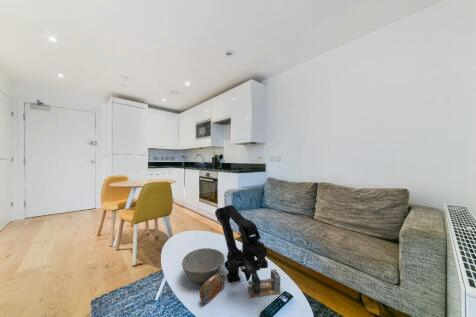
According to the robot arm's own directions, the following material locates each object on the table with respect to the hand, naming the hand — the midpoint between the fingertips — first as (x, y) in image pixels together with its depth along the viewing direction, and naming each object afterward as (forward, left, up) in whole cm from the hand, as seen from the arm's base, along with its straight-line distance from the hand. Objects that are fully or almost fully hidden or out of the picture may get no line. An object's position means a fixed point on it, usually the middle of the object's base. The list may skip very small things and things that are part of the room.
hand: (247, 280), depth 90 cm
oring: (0, +4, -5) cm, 6 cm away
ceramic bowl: (-15, -21, -6) cm, 27 cm away
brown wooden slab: (-1, -17, -6) cm, 18 cm away
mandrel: (0, +8, -6) cm, 10 cm away
